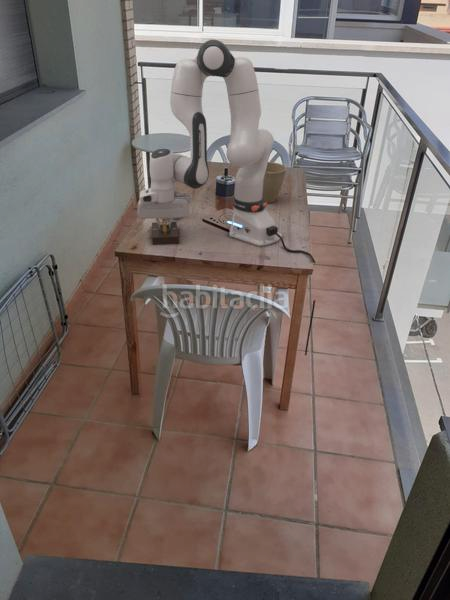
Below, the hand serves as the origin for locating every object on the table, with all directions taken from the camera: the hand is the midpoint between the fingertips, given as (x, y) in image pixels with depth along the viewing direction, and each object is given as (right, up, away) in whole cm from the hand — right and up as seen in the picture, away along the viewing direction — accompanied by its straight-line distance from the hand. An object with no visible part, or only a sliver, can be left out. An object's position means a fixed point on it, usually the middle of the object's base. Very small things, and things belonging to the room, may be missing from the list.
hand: (164, 227), depth 185 cm
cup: (+1, +8, +19) cm, 20 cm away
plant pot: (+44, +18, +37) cm, 60 cm away
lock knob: (0, -1, 0) cm, 1 cm away
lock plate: (0, -3, +2) cm, 4 cm away
